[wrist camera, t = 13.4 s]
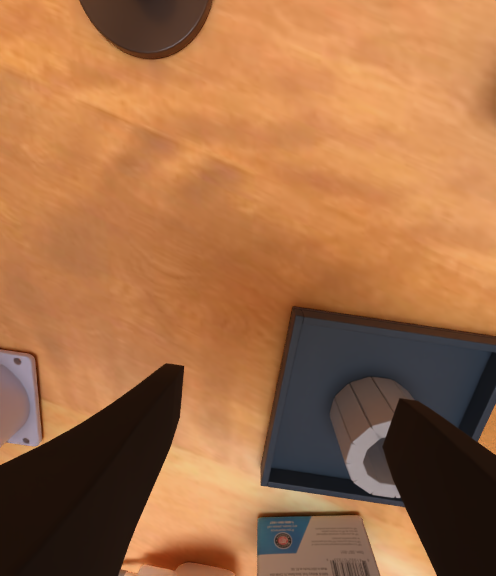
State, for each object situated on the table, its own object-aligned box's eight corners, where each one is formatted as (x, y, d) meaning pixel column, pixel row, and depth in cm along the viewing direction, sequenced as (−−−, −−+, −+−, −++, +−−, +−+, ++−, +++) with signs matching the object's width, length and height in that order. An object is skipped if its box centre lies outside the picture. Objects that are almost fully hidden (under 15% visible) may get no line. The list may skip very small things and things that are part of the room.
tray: (260, 466, 22) (260, 485, 21) (292, 306, 18) (295, 315, 17) (431, 491, 22) (444, 513, 21) (500, 336, 18) (522, 349, 17)
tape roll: (322, 437, 21) (336, 490, 17) (340, 371, 19) (360, 413, 15) (398, 448, 21) (429, 504, 17) (422, 383, 19) (463, 428, 15)
